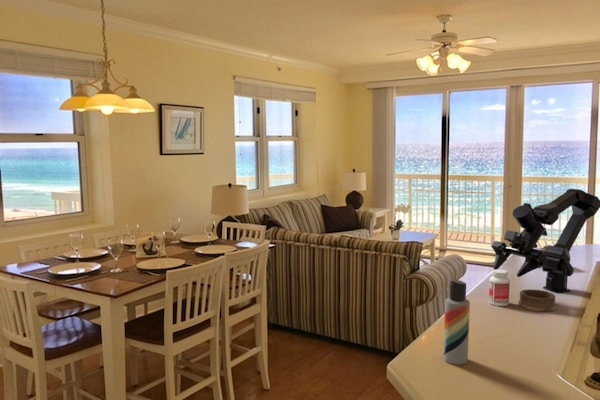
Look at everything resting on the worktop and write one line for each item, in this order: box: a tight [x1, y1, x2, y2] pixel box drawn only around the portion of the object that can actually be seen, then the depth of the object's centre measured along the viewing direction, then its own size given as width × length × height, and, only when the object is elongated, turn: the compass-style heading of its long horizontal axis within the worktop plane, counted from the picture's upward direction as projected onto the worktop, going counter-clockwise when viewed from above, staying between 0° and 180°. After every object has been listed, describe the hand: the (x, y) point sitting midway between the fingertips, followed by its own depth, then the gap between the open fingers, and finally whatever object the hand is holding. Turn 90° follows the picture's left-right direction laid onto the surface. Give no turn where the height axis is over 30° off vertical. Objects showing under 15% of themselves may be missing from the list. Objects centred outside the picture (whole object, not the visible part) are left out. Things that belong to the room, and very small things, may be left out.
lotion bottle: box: [443, 279, 471, 366], centre depth 121 cm, size 6×6×20 cm
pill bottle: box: [488, 268, 511, 307], centre depth 163 cm, size 6×6×11 cm
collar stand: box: [517, 289, 557, 313], centre depth 161 cm, size 11×11×4 cm
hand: (505, 273), depth 164 cm, fingers open, 9 cm apart
